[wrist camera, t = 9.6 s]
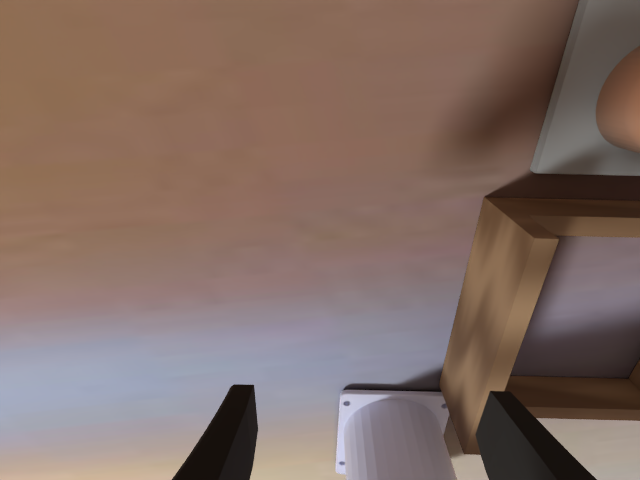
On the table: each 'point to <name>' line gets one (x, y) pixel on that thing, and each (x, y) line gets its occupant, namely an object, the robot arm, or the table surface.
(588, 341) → the table surface
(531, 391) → the frame
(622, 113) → the flower pot
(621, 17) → the slate coaster
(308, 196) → the table surface
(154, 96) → the table surface
